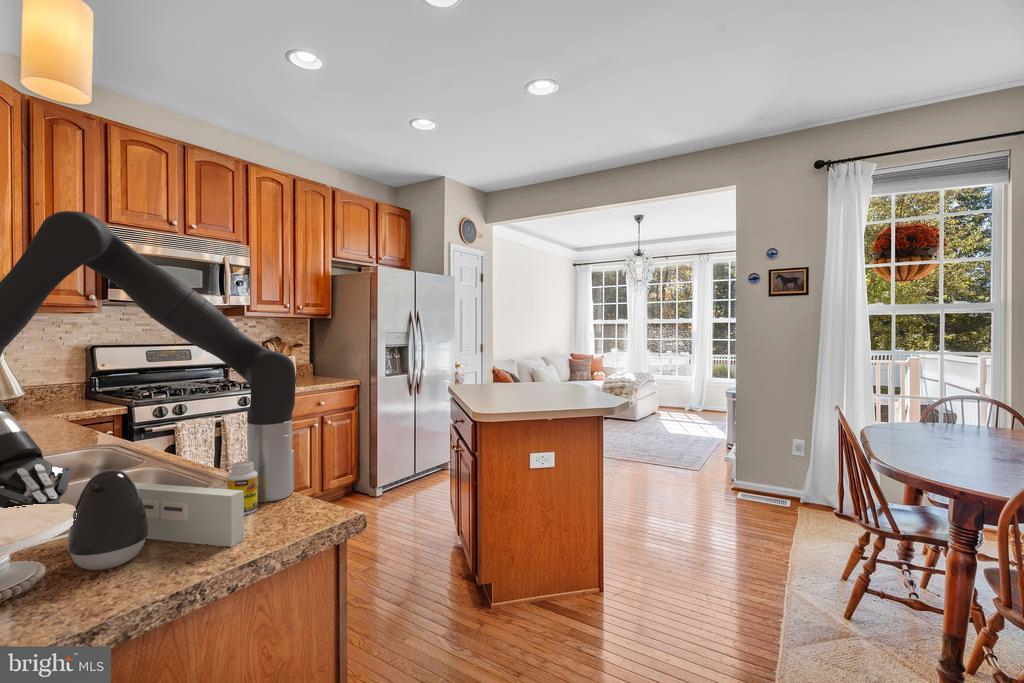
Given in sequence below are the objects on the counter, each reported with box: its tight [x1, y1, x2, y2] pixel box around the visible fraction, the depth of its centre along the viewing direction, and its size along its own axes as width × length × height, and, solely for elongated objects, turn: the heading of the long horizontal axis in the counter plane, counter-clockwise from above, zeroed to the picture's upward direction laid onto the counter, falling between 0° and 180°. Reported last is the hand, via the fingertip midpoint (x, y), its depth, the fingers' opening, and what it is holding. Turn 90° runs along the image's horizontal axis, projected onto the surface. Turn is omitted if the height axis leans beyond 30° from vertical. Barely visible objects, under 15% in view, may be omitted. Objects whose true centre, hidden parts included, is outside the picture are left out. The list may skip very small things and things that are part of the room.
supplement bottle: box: [226, 460, 258, 516], centre depth 102 cm, size 6×6×10 cm
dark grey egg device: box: [66, 468, 148, 571], centre depth 79 cm, size 10×10×15 cm
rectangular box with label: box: [133, 481, 245, 548], centre depth 89 cm, size 3×26×9 cm, turn 80°
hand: (58, 521), depth 81 cm, fingers closed
